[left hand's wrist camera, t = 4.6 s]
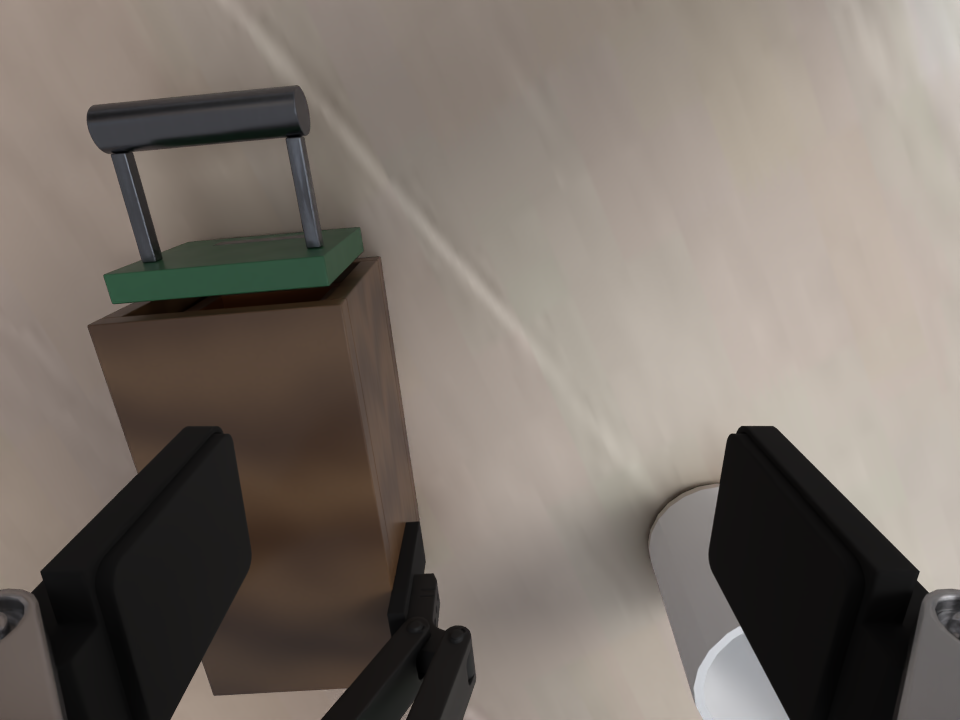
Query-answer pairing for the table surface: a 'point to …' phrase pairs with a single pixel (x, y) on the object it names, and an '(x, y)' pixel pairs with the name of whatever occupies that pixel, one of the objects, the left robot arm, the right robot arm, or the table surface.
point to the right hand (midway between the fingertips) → (319, 548)
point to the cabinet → (284, 464)
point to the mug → (706, 615)
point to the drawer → (235, 261)
